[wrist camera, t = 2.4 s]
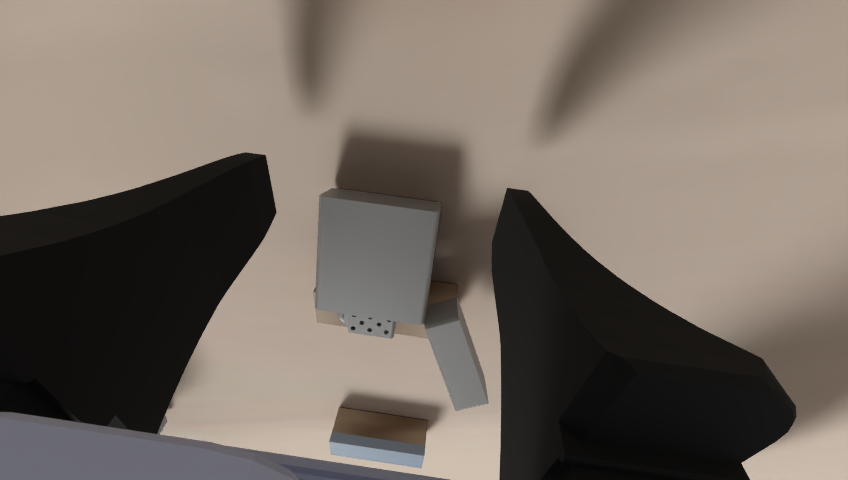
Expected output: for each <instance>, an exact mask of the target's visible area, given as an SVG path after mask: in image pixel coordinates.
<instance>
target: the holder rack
mask: <svg viewBox="0 0 848 480" xmlns="http://www.w3.org/2000/svg"><path fill="white" fill-rule="evenodd" d="M313 294H314V301H315V296H316V287H315V289H314V291H313ZM456 297H457V285H455V284H448V283H441V282H434V281H430V288H429V295H428V302H427V305H430V304H434V303H438V302H441V301H445V300H449V299H452V298H456ZM316 316H317V322H318V323H325V324H332V325H339V326H346V325H345V324H344V323H343V322H342V321H341V320H340V319H339V318H338V314H337V313H333V312H326V311H319V310H317V309H316ZM346 327H347V326H346ZM394 334H401V335H408V336H415V337H422V338H428V336H427V333H426V331H425V326H424V324H421V325H417V324H410V323H403V322H397V323H396V328H395V332H394ZM427 421H428V420H421V419H414V418H407V417H401V416H394V415H387V414H380V413H374V412H367V411H360V410H353V409H347V408H340V407H339V410H338V413H337V417H336V420H335V424H334V427H333V431H332V434H331V438H330V441H329V443H330V449H331V455H336V456H343V457H350V458H356V459H363V460H370V461H376V462H383V463H389V464H396V465H403V466H409V467H416V468H421V467H422V463H423V459H424V453H425V442H426V432H427Z"/></svg>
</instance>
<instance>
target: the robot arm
mask: <svg viewBox="0 0 848 480" xmlns="http://www.w3.org/2000/svg"><path fill="white" fill-rule="evenodd" d="M275 214H276V207H275V202H274V197H273V191H272V186H271V181H270V175H269V170H268V165H267V160H266V155H260V154H253V153H241V154H237V155H233V156H230V157H226V158H223V159H220V160H218V161H215V162H212V163H209V164H206V165H203V166H201V167H198V168H195V169H192V170H189V171H187V172H184V173H181V174H178V175H175V176H172V177H169V178H166V179H163V180H160V181H157V182H154V183H151V184H148V185H145V186H141V187H138V188H135V189H131V190H128V191H124V192H121V193H117V194H113V195H109V196H105V197H101V198H97V199H93V200H88V201H84V202H79V203H74V204H69V205H63V206H58V207H53V208H48V209H42V210H37V211H32V212H25V213H19V214H12V215H5V216H0V480H449V479H442V478H435V477H429V476H422V475H416V474H409V473H402V472H396V471H389V470H382V469H376V468H369V467H363V466H356V465H349V464H343V463H336V462H330V461H323V460H316V459H310V458H303V457H296V456H290V455H283V454H277V453H270V452H263V451H257V450H250V449H244V448H237V447H230V446H224V445H220V444H216V443H212V442H206V441H199V440H192V439H186V438H179V437H173V436H166V435H159V434H157V433H158V431H159V428H160V426H161V423H162V421H163V418H164V416H165V413H166V411H167V408H168V406H169V404H170V401H171V399H172V397H173V394H174V392H175V390H176V388H177V385H178V383H179V381H180V379H181V377H182V374H183V372H184V370H185V368H186V366H187V363H188V361H189V359H190V357H191V355H192V353H193V351H194V349H195V347H196V345H197V343H198V341H199V339H200V337H201V335H202V333H203V332H204V330H205V328H206V326H207V324H208V322H209V321H210V319H211V317H212V315H213V313H214V311H215V310H216V308H217V306H218V304H219V303H220V301H221V300H222V298H223V296H224V295H225V293H226V292H227V290H228V289H229V288H230V286H231V285H232V283H233V282H234V280H235V279H236V278H237V276H238V275H239V273H240V272H241V271H242V269H243V268H244V266H245V265H246V264H247V262H248V261H249V259H250V258H251V257H252V255H253V254H254V252H255V251H256V249H257V248H258V246H259V245H260V243H261V242H262V240H263V239H264V237H265V235H266V233H267V231H268V229H269V228H270V225H271V223H272V221H273V219H274V217H275ZM492 276H493V284H494V292H495V300H496V308H497V315H498V323H499V331H500V343H501V453H500V480H750V479H749V477H748V475H747V473H746V471H745V470H744V468H743V466H742V464H741V463H742V462H743V461H745V460H747V459H748V458H750V457H751V456H753V455H755V454H756V453H758V452H760V451H761V450H763V449H764V448H766V447H768V446H769V445H771V444H772V443H774V442H776V441H777V440H778V439H780V438H781V437H782V436H783V435H785V434H786V433H787V432H788V431H789V429H790V428H791V426H792V424H793V422H794V421H795V419H796V406H795V404H794V403H793V402H792V400H791V399H790V397H789V396H788V395H787V393H786V392H785V390H784V389H783V387H782V386H781V385H780V383H779V382H778V380H777V379H776V378H775V376H774V375H773V373H772V372H771V370H770V369H769V368H768V366H767V365H766V363H765V362H764V361H763V359H762V358H760V357H758V356H756V355H754V354H752V353H750V352H748V351H746V350H744V349H742V348H740V347H738V346H735V345H733V344H731V343H729V342H727V341H725V340H723V339H721V338H719V337H717V336H715V335H713V334H711V333H709V332H707V331H705V330H703V329H701V328H699V327H697V326H695V325H694V324H692V323H690V322H688V321H687V320H685V319H683V318H681V317H679V316H678V315H676V314H674V313H672V312H670V311H669V310H667V309H665V308H664V307H662V306H661V305H659V304H657V303H656V302H654V301H652V300H651V299H649V298H648V297H646V296H645V295H643V294H642V293H640V292H639V291H637V290H636V289H634V288H633V287H631V286H630V285H628V284H627V283H625V282H624V281H623V280H621V279H620V278H618V277H617V276H616V275H614V274H613V273H612V272H611V271H609V270H608V269H607V268H605V267H604V266H603V265H602V264H600V263H599V262H598V261H597V260H595V259H594V258H593V257H592V256H591V255H590V254H588V253H587V252H586V251H585V250H584V249H583V248H582V247H581V246H580V245H579V244H578V243H577V242H576V241H574V240H573V239H572V238H571V237H570V236H569V235H568V234H567V233H566V232H565V231H564V230H563V229H562V227H561V226H560V225H559V224H558V223H557V222H556V221H555V220H554V219H553V218H552V217H551V216H550V214H549V213H548V212H547V211H546V210H545V209H544V208H543V207H542V205H541V204H540V203H539V202H538V201H537V200H536V199H535V198H534V196H533V195H532V194H531V193H530V192H529V191H525V190H518V189H511V188H507V190H506V194H505V198H504V201H503V205H502V209H501V212H500V216H499V219H498V223H497V227H496V230H495V234H494V238H493V241H492Z"/></svg>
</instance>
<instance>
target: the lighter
mask: <svg viewBox="0 0 848 480" xmlns="http://www.w3.org/2000/svg"><path fill="white" fill-rule="evenodd" d="M440 212H441V203H438V202H434V201H426V200H419V199H412V198H404V197H397V196H390V195H383V194H375V193H368V192H361V191H353V190H346V189H339V188H332V189H330V190H328V191H326V192H324V193H322V194H321V195H320V198H319V222H318V247H317V271H316V296H315V308H316V309H317V310H319V311H326V312H333V313H337V314H338V318H339V319H340V320H341V321H342V322H343V323H344V324H345V325H346V326H347V327H348V328H349V333H356V334H363V335H370V336H377V337H384V338H393V336H394V332H395V328H396V323H397V322H403V323H410V324H417V325H421V324H424V326H425V331H426V333H427V336H428V339H429V341H430V344H431V347H432V349H433V352H434V355H435V357H436V360H437V363H438V365H439V368H440V371H441V373H442V376H443V379H444V381H445V384H446V387H447V389H448V392H449V395H450V397H451V400H452V403H453V405H454V408H455V411H458V410H462V409H467V408H471V407H475V406H480V405H484V404H488V396H487V390H486V383H485V378H484V374H483V371H482V368H481V365H480V362H479V359H478V357H477V354H476V351H475V348H474V345H473V342H472V339H471V336H470V333H469V330H468V327H467V324H466V321H465V318H464V315H463V312H462V309H461V306H460V303H459V300H458V298H457V297H456V298H452V299H449V300H445V301H441V302H438V303H434V304H430V305H427V302H428V295H429V288H430V281H431V274H432V267H433V260H434V254H435V247H436V240H437V233H438V226H439V219H440Z"/></svg>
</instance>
